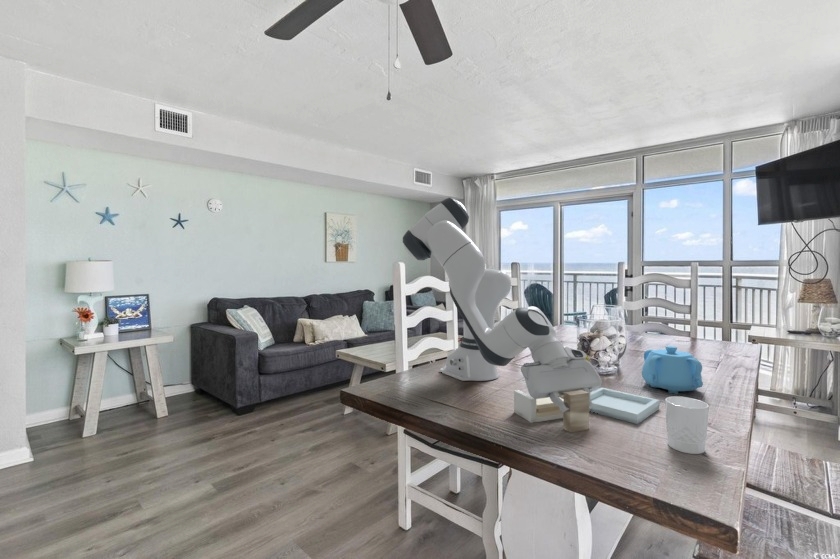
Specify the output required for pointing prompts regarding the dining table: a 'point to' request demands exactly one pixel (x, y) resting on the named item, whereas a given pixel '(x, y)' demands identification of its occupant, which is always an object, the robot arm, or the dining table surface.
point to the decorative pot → (672, 370)
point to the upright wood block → (576, 411)
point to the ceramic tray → (622, 405)
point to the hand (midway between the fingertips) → (578, 409)
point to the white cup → (686, 424)
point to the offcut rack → (536, 407)
